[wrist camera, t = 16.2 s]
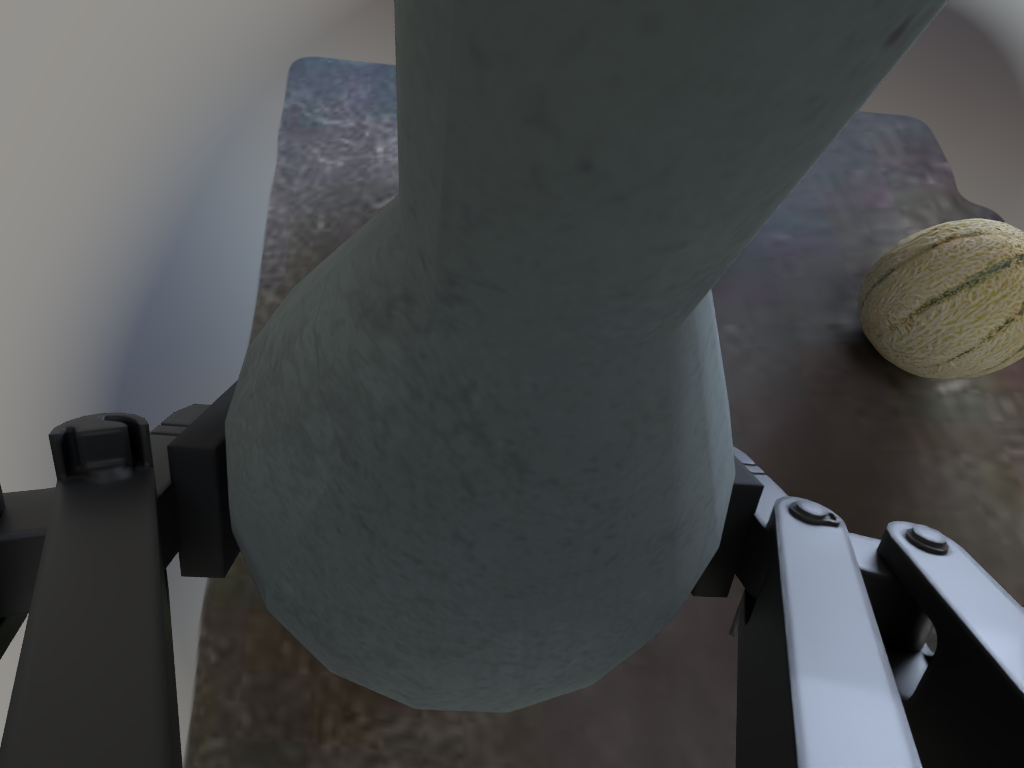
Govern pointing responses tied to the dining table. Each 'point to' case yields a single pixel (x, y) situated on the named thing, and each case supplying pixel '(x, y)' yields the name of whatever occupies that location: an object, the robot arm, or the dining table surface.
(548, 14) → the grey bottle vase
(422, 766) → the dining table surface
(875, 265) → the cantaloupe
